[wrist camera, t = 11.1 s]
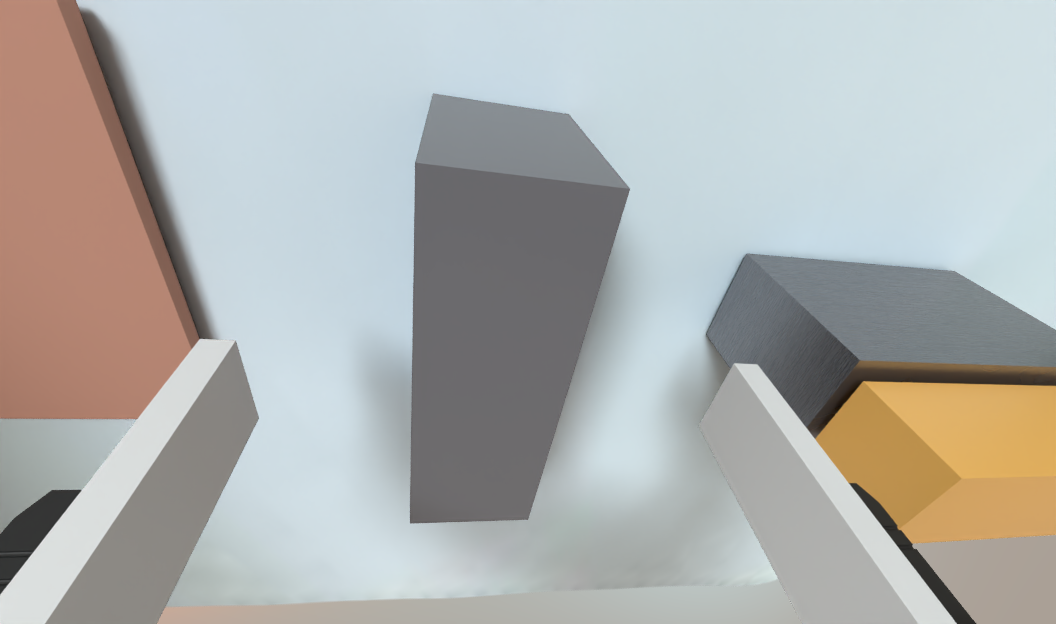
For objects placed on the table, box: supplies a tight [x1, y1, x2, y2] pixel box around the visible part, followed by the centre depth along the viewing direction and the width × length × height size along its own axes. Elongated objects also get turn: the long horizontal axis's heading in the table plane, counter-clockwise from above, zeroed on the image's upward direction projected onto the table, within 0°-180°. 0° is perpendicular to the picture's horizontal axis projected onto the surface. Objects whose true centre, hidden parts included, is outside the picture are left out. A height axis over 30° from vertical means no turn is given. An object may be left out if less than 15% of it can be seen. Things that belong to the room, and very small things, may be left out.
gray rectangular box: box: [706, 254, 1056, 439], centre depth 17 cm, size 10×4×6 cm, turn 81°
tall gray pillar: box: [410, 94, 630, 523], centre depth 14 cm, size 4×12×6 cm, turn 171°
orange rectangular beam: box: [815, 381, 1056, 544], centre depth 13 cm, size 10×3×3 cm, turn 81°
